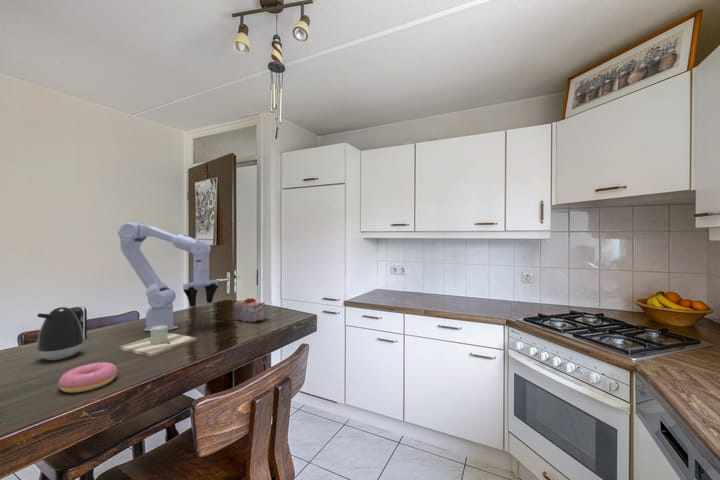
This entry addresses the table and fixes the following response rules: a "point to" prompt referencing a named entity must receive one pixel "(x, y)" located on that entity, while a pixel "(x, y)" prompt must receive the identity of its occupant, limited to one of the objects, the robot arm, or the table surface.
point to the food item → (249, 310)
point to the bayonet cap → (159, 334)
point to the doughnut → (87, 377)
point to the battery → (81, 318)
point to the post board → (157, 345)
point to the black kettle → (59, 334)
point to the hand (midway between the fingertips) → (201, 304)
